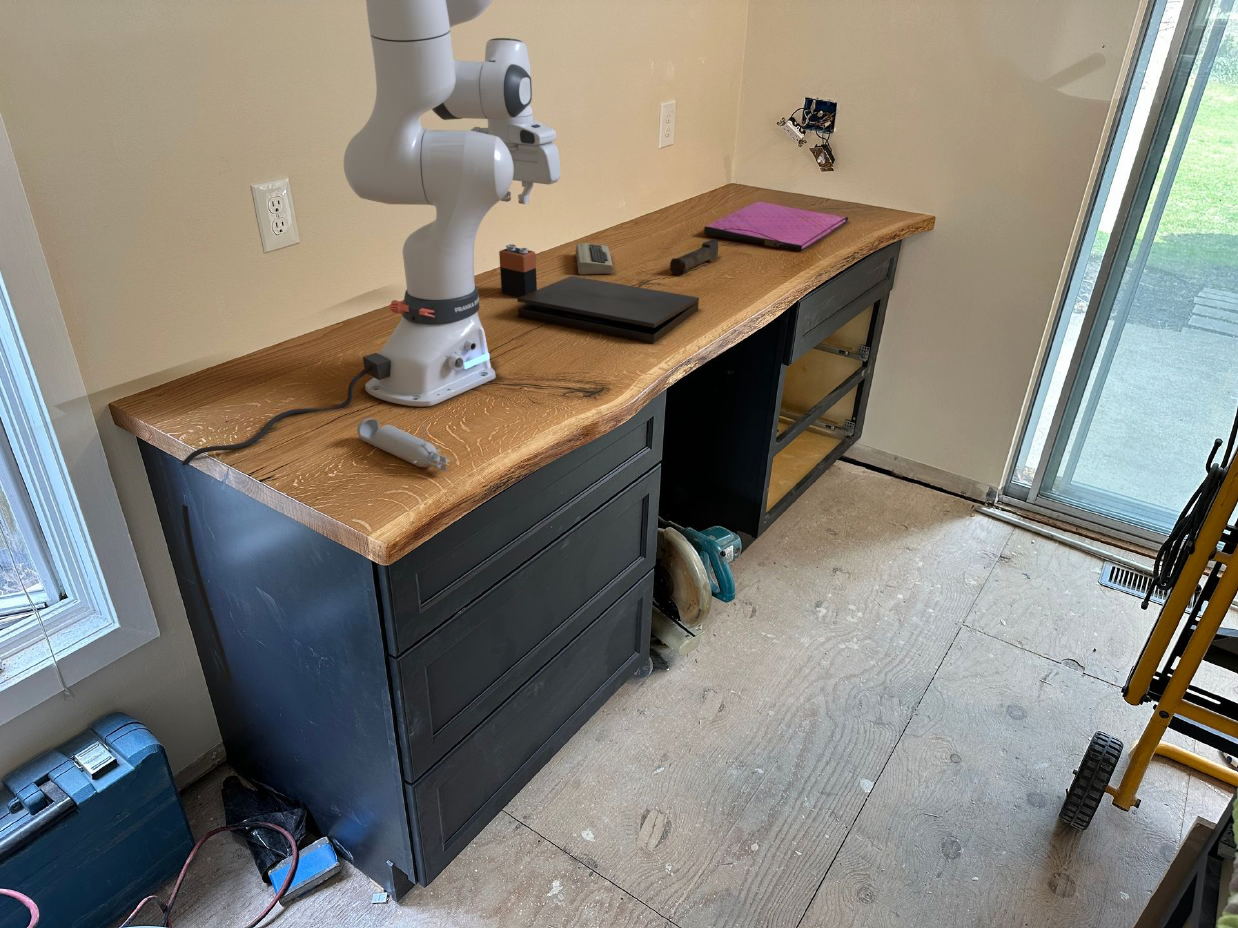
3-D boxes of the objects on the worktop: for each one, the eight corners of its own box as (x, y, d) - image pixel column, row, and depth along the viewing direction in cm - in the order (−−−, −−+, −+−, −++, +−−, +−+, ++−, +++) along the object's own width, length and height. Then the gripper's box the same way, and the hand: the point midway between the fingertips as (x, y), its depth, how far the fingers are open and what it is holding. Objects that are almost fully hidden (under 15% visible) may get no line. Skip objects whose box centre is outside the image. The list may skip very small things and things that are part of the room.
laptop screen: (654, 328, 159) (654, 323, 158) (517, 302, 171) (517, 298, 170) (698, 301, 176) (699, 297, 175) (571, 280, 188) (571, 275, 187)
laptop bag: (758, 195, 251) (849, 209, 239) (757, 209, 253) (847, 224, 241) (696, 223, 221) (797, 241, 209) (695, 239, 223) (795, 257, 211)
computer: (613, 274, 197) (613, 260, 196) (578, 275, 197) (578, 260, 195) (608, 255, 211) (608, 241, 209) (575, 255, 210) (575, 242, 209)
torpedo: (350, 443, 126) (343, 403, 122) (376, 432, 129) (370, 392, 126) (434, 483, 116) (429, 440, 113) (460, 469, 119) (456, 427, 116)
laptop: (653, 344, 160) (653, 334, 159) (518, 317, 172) (517, 308, 171) (698, 310, 176) (698, 301, 176) (571, 288, 189) (571, 279, 188)
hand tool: (683, 277, 196) (684, 257, 193) (669, 274, 198) (669, 254, 195) (726, 259, 209) (728, 239, 206) (712, 256, 211) (714, 237, 209)
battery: (513, 287, 188) (511, 242, 184) (538, 293, 185) (536, 247, 180) (500, 292, 185) (497, 246, 180) (524, 299, 182) (522, 252, 177)
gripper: (457, 128, 171) (463, 199, 178) (546, 136, 162) (548, 211, 169) (476, 124, 176) (481, 193, 182) (563, 132, 167) (565, 204, 174)
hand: (514, 202), depth 176 cm, fingers open, 3 cm apart
